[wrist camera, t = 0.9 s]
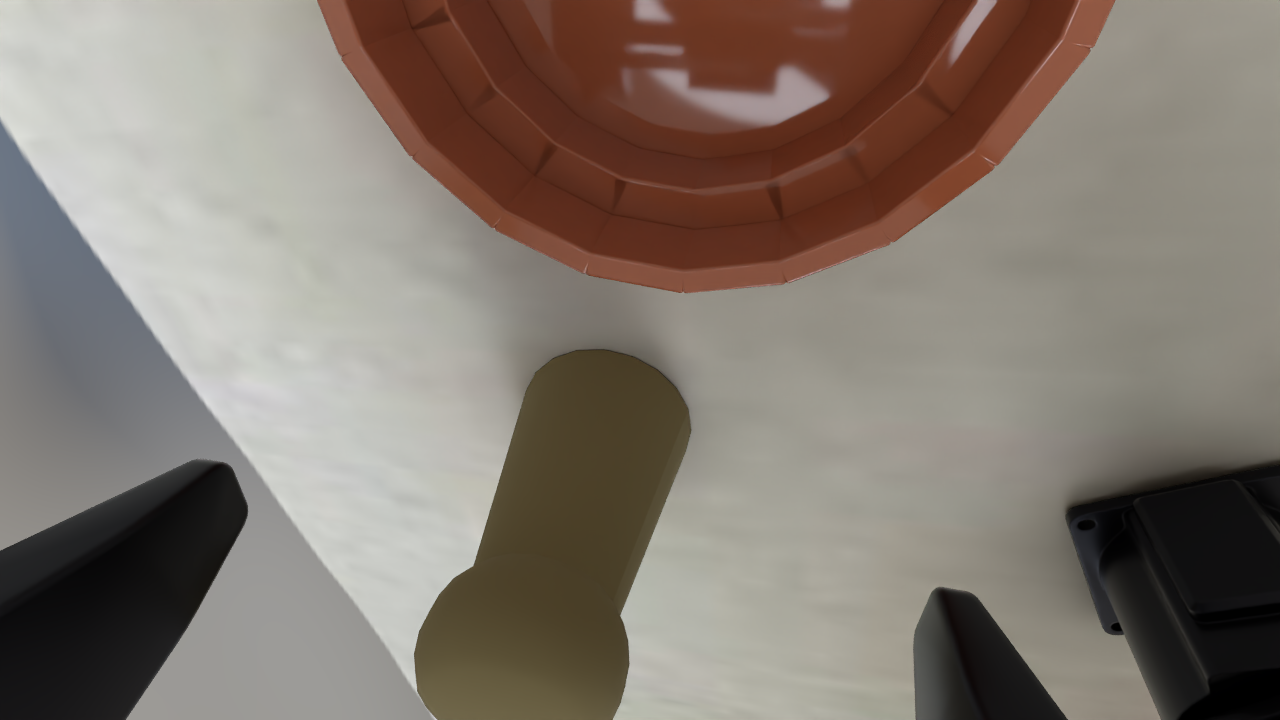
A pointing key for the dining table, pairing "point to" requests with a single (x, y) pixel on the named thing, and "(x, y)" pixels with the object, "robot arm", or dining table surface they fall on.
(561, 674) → the cork
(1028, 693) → the robot arm
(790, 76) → the bowl
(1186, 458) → the dining table surface
